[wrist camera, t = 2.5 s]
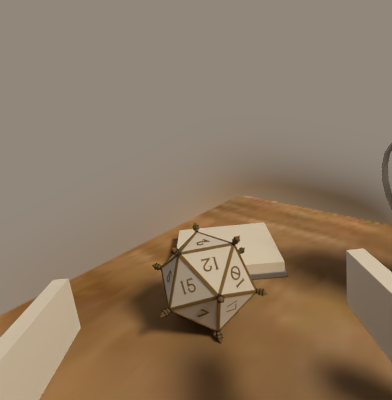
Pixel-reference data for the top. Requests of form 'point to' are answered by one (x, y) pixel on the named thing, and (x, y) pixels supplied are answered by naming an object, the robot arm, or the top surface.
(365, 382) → the top surface
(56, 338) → the robot arm
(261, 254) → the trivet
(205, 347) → the top surface
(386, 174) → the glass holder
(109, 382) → the top surface
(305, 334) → the top surface
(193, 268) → the game die
